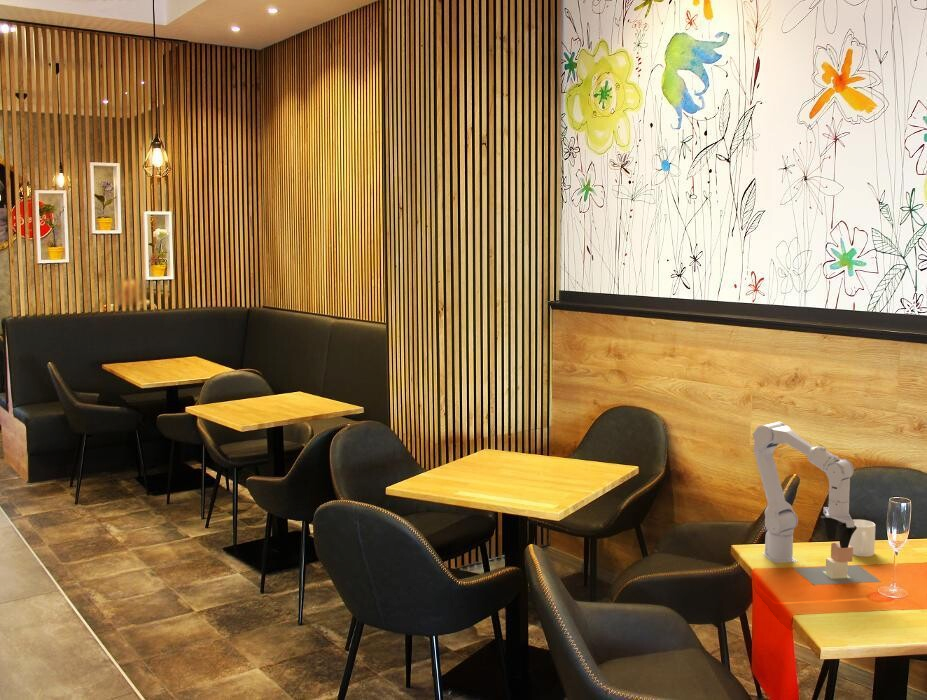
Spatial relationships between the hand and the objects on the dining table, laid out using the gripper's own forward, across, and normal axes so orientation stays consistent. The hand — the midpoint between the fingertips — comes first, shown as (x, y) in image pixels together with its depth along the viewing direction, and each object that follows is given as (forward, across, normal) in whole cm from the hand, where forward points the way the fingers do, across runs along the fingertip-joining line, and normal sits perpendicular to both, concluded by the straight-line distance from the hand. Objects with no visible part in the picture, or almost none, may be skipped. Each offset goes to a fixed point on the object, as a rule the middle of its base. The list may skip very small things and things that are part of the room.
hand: (837, 543), depth 282 cm
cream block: (+10, 0, 0) cm, 10 cm away
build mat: (+10, 0, 0) cm, 10 cm away
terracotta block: (+5, 0, +2) cm, 6 cm away
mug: (+11, -16, +17) cm, 26 cm away
